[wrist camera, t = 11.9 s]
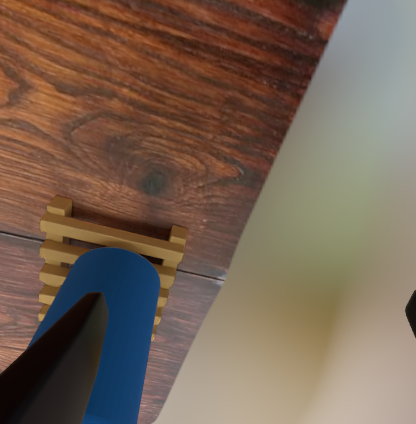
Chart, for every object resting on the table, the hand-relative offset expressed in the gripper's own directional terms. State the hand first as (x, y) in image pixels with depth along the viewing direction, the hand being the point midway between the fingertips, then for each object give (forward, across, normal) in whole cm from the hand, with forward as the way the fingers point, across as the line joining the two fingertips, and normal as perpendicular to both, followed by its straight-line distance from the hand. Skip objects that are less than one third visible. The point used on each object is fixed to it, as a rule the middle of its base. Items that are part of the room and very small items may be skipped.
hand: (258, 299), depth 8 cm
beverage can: (+11, +8, +9) cm, 16 cm away
